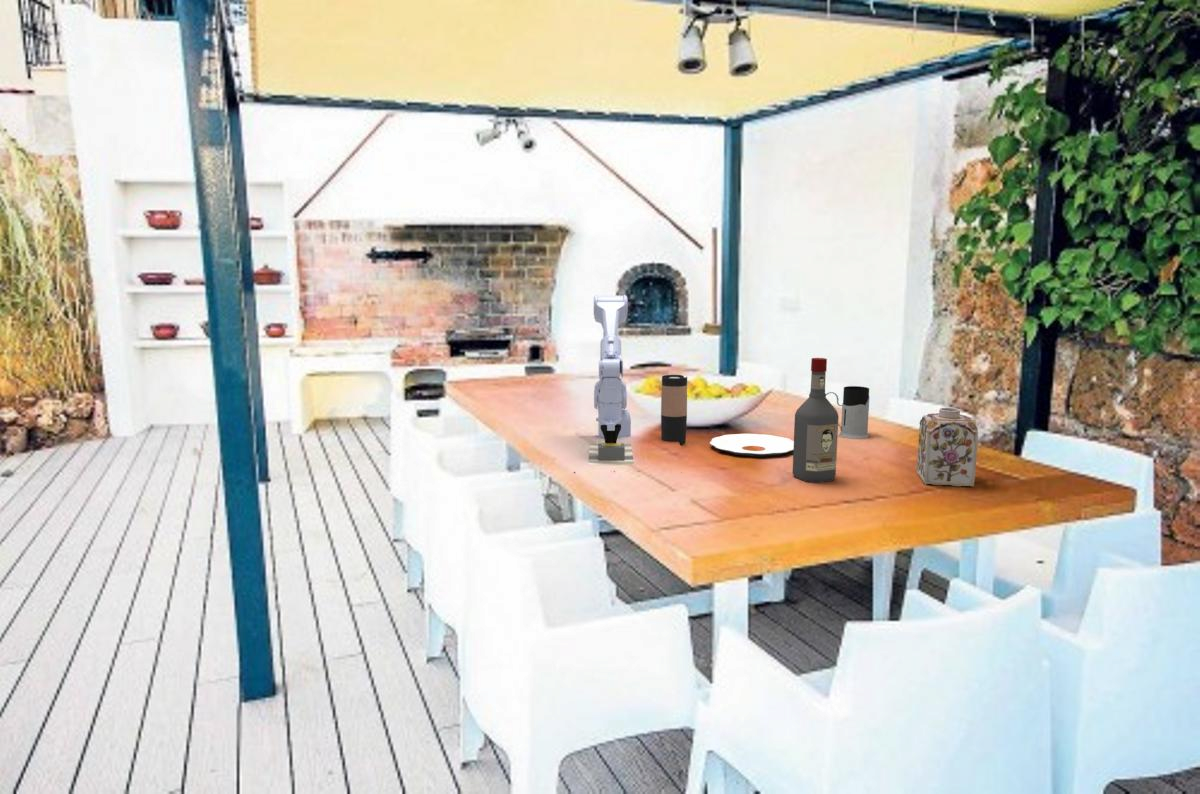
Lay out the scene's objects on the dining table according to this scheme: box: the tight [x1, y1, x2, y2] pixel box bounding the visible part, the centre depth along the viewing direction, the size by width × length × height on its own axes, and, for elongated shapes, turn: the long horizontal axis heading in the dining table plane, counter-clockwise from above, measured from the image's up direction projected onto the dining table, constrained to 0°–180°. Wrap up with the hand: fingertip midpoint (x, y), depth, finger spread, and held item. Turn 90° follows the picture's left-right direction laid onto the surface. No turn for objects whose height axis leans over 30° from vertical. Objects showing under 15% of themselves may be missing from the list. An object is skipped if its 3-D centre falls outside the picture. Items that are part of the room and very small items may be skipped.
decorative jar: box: [916, 407, 979, 487], centre depth 201 cm, size 12×12×18 cm
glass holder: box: [825, 385, 870, 440], centre depth 252 cm, size 9×14×15 cm, turn 89°
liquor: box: [792, 357, 840, 484], centre depth 203 cm, size 9×9×30 cm
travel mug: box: [660, 374, 688, 446], centre depth 242 cm, size 8×8×20 cm
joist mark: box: [587, 455, 634, 460], centre depth 220 cm, size 4×12×1 cm, turn 90°
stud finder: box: [597, 442, 625, 461], centre depth 220 cm, size 5×7×4 cm
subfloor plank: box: [587, 443, 635, 466], centre depth 225 cm, size 24×12×1 cm, turn 0°
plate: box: [709, 433, 794, 458], centre depth 236 cm, size 25×25×2 cm
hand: (610, 451), depth 224 cm, fingers closed
